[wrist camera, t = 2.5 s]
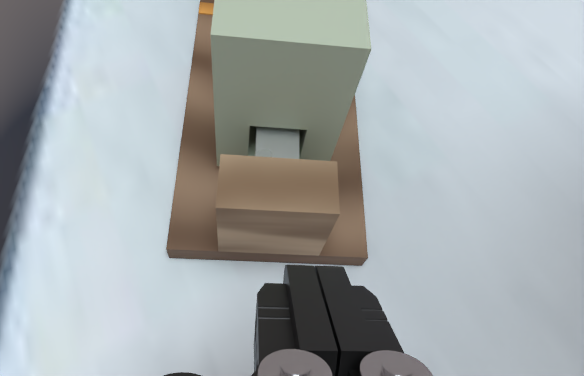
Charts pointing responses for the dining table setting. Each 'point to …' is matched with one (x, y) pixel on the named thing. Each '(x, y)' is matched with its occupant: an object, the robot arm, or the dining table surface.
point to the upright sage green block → (286, 70)
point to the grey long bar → (277, 142)
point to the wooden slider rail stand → (261, 190)
